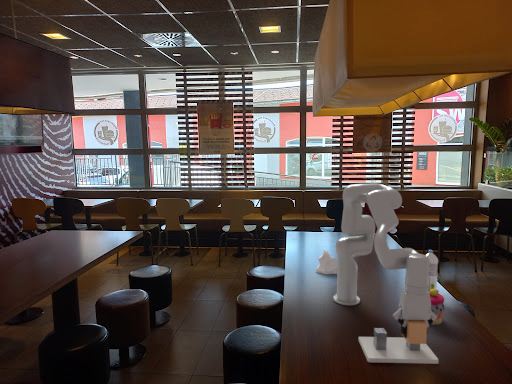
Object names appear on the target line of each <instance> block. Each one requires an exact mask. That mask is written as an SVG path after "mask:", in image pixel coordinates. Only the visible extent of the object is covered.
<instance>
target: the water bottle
mask: <svg viewBox="0 0 512 384" xmlns="http://www.w3.org/2000/svg"><path fill="white" fill-rule="evenodd" d="M425 255H426V256H427V257H428V258H429V278H428V285H430V284H434V289H435V290H437V285H438V284H437V282H438V265H439V259H438V257H437V256H436V254H434V250H432V249H428V253H426V254H425Z"/></svg>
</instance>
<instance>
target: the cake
mask: <svg viewBox="0 0 512 384" xmlns="http://www.w3.org/2000/svg"><path fill="white" fill-rule="evenodd" d="M430 285H431V286H432V289H429V290H428V293H429V295H430V300H431V311H432V312H433V313H434V314H435V315H436V316H437V319H435V320H434V321H433V323H431V324H432V326H438V325H441V324H442V323H443V317H444V314H445V313H444V308H445V304H444V302H445V297H444V295H442V294H440V293H439V292H440V290H438V289H436V290H435V289H434V284H430Z"/></svg>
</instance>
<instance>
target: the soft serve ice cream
mask: <svg viewBox="0 0 512 384" xmlns="http://www.w3.org/2000/svg"><path fill="white" fill-rule="evenodd" d="M318 262H319V264H318V266H317V267H316V269H315V271H316V272H315V273H318V274H321V275H322V274H323V275H337V258H335V257H334V256H332V254H331V253H330V252H329V251H328V250H326V249H325V250H323V253H322V254H321V256H319V257H318Z"/></svg>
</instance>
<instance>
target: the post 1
mask: <svg viewBox="0 0 512 384" xmlns="http://www.w3.org/2000/svg"><path fill="white" fill-rule="evenodd" d="M373 337H374V339H373V345H374V347H375V349H376V350H386V343H387V337H388V333H387V331H386V329H385V327H373Z"/></svg>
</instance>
